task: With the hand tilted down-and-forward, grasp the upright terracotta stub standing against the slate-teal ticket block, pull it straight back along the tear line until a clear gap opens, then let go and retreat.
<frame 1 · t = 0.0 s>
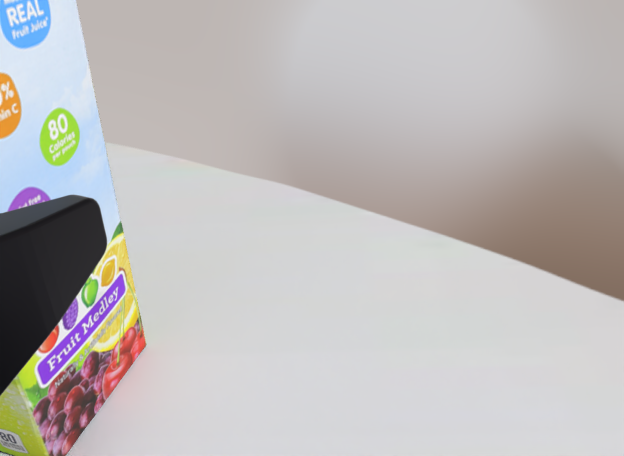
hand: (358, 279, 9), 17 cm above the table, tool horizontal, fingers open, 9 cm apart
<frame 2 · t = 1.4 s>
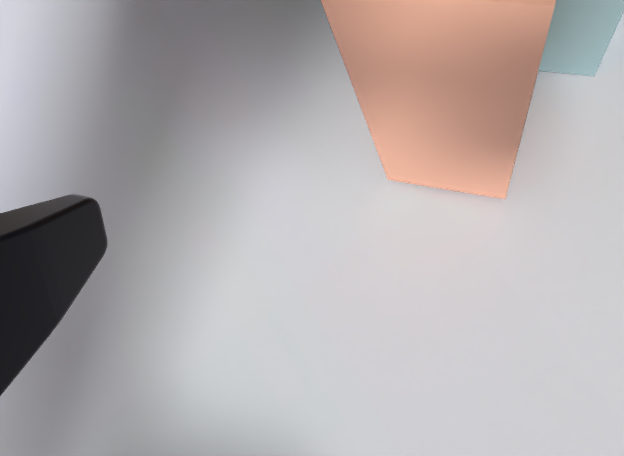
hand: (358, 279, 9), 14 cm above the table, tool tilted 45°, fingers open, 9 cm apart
stub: (457, 43, 17), point 6 cm above the table, slide at 0.0 cm
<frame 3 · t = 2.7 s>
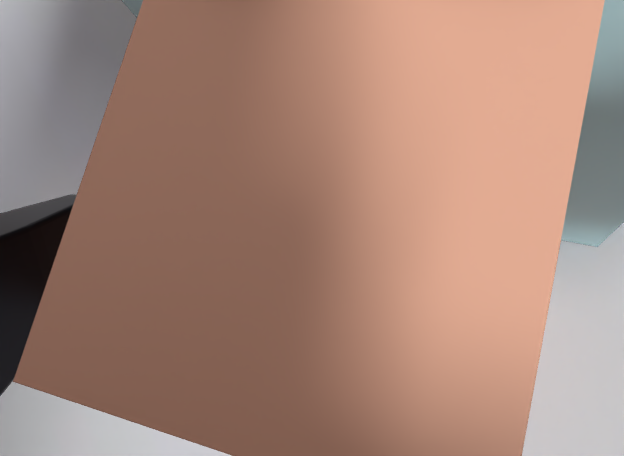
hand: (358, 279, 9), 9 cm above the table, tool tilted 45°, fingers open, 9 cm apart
stub: (383, 274, 11), point 6 cm above the table, slide at 0.0 cm
ticket block: (454, 122, 18), on the table
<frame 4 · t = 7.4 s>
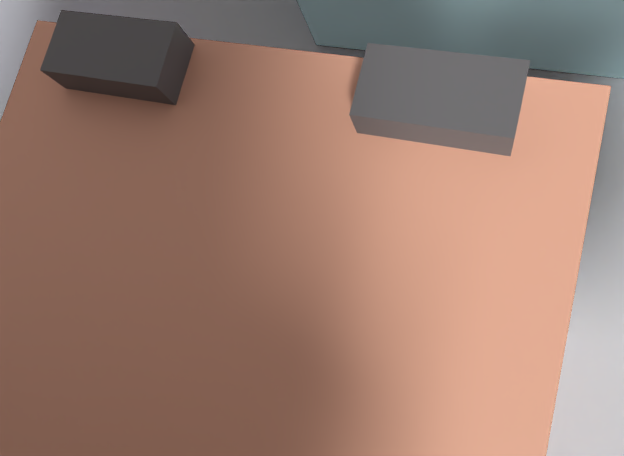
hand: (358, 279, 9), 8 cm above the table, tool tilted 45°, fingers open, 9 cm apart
stub: (347, 380, 9), point 6 cm above the table, slide at 6.2 cm
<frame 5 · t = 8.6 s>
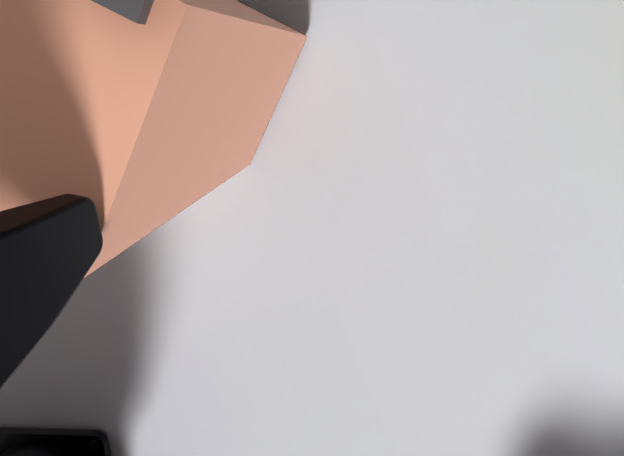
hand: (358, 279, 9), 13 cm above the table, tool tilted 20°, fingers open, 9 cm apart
stub: (154, 80, 15), point 6 cm above the table, slide at 10.1 cm, touching gripper
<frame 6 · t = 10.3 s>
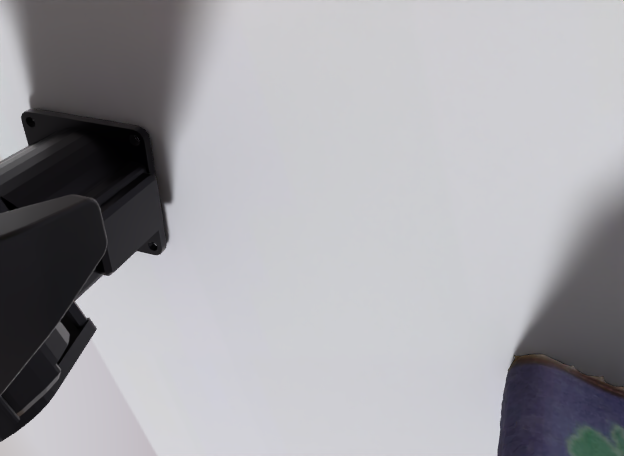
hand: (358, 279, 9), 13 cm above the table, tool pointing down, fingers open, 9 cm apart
flask: (616, 402, 24), on the table
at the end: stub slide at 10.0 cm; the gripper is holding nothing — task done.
